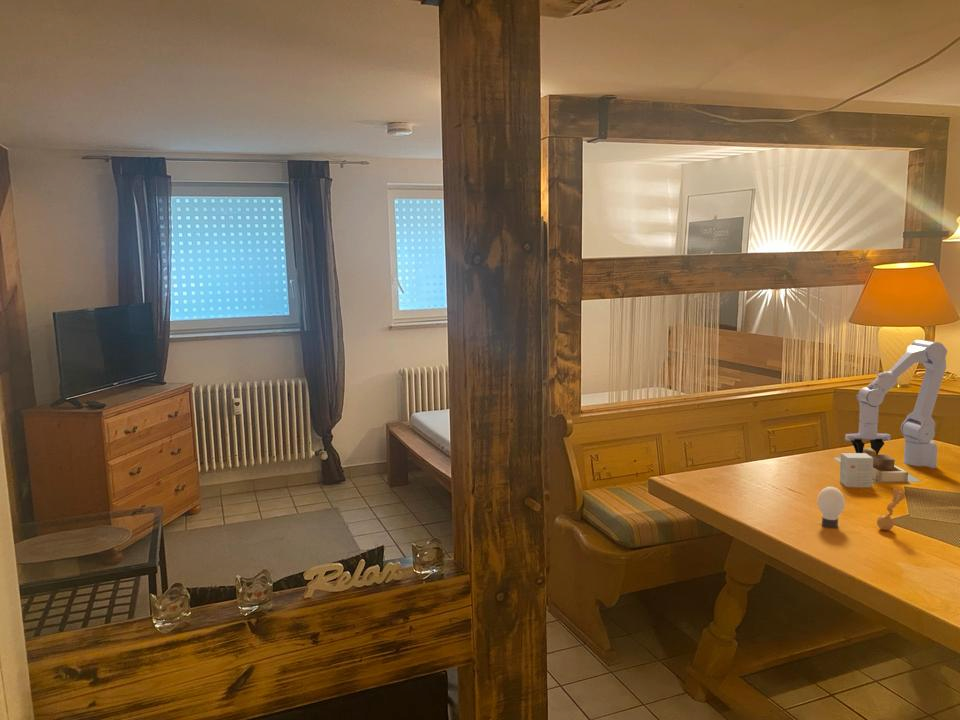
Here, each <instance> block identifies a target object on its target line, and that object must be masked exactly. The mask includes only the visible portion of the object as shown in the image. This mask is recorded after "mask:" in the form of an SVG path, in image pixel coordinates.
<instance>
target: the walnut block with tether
mask: <svg viewBox="0 0 960 720" xmlns="http://www.w3.org/2000/svg"><path fill="white" fill-rule="evenodd" d="M863 453H866V454H868V455H869V456H871V457H873V467H874V468H875V469H877V470H879V471H894V465H895V461H896V460H895V459H894V458H893V457H891V456H890V455H889V454H878V455H876V451H875V450H873V449H872V448H871V447H864V448H863Z"/></svg>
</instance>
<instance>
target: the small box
mask: <svg viewBox="0 0 960 720" xmlns="http://www.w3.org/2000/svg"><path fill="white" fill-rule="evenodd" d="M840 458H841V463H840V462H839V463H840V464H839V465H840V466H839V467H840V468H839V482H840V484H842V485H843V486H844V487H846V488H873V482H872V477H873V457H871V456H869V455H868V454H866V453H856V452H854V453H853V452H841V453H840Z"/></svg>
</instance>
